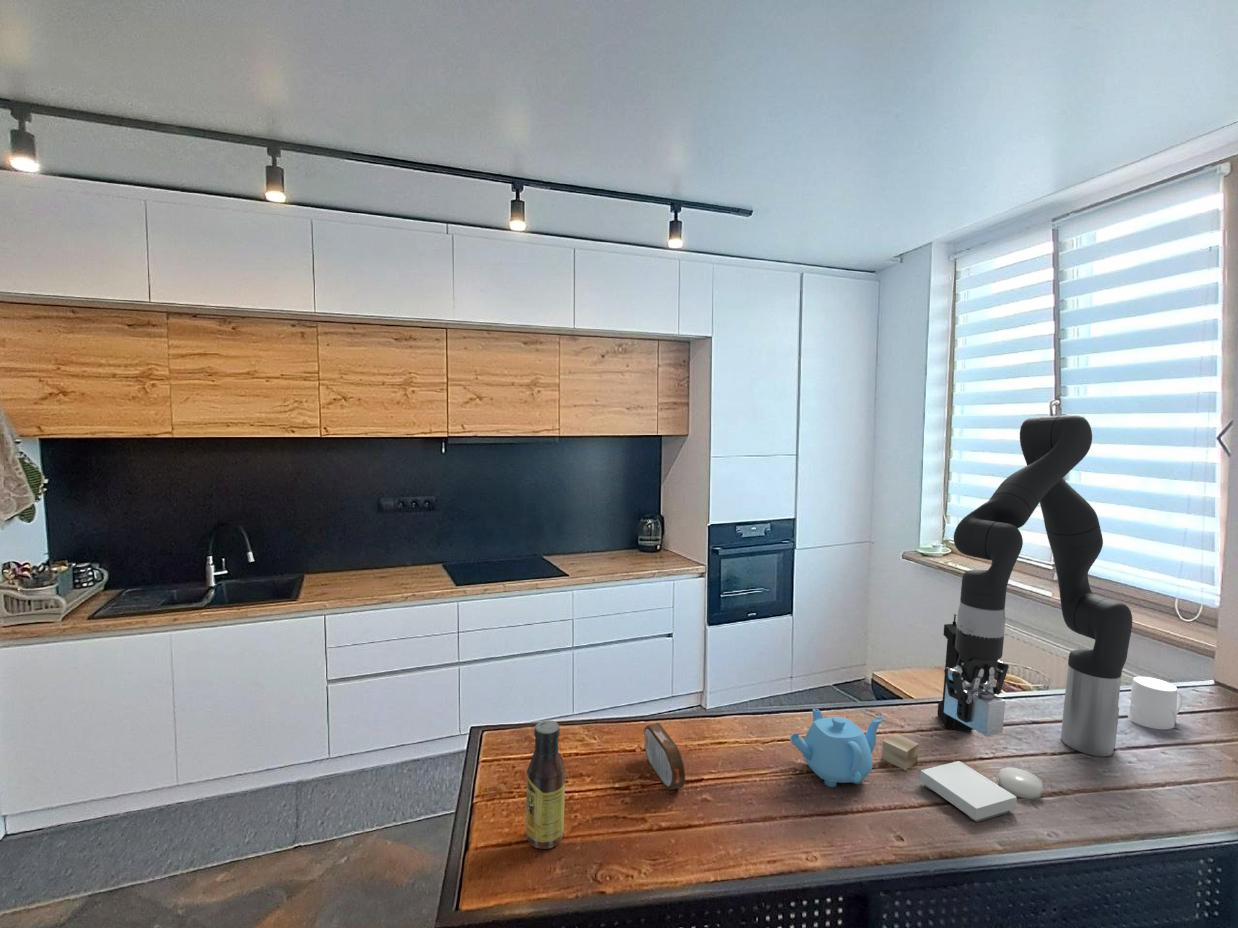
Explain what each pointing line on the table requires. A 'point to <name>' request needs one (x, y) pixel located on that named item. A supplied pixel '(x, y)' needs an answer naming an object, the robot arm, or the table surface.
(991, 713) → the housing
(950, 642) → the portable radio
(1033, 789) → the glossy white pebble
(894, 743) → the oak block
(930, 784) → the stand
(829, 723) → the teapot
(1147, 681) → the mug
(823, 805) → the table surface
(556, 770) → the sauce bottle
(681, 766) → the tin
